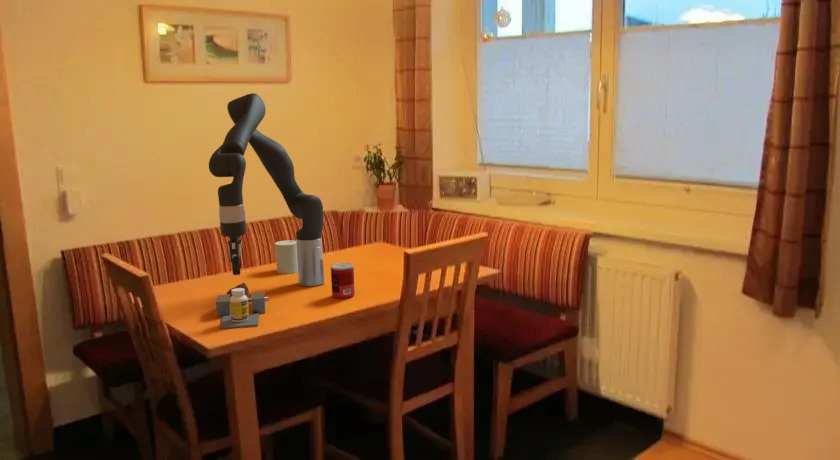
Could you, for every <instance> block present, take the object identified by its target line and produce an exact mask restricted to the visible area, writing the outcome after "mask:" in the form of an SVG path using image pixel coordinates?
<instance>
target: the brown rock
mask: <svg viewBox="0 0 840 460" xmlns="http://www.w3.org/2000/svg"><path fill="white" fill-rule="evenodd" d="M235 288H244V289H245V294H244V295H246V296H247V297H248V296H249V288H248V286H247V285H246V283H245V282H242V283H240V284H238V285H236V286H235V287H232V288H230V289H229V290H228V291H227V292H226V293H225V295H227V294H230V297H232V296H233V295H232V292H231V290H232V289H235Z"/></svg>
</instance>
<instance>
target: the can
mask: <svg viewBox="0 0 840 460" xmlns="http://www.w3.org/2000/svg"><path fill="white" fill-rule="evenodd" d="M274 247H275V259H276V260H275V261H276V273H278V274H283V275H284V274H286V275H287V274H289V275H290V274H296V273H298V260H297V244H296V240H294V239H292V240H291V239H290V240H289V239H288V240H279V241H276V242H275V243H274Z"/></svg>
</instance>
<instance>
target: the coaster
mask: <svg viewBox="0 0 840 460" xmlns="http://www.w3.org/2000/svg"><path fill="white" fill-rule="evenodd" d="M259 317H260V314H259V313H256V314H252V313H249V319H248V320H247V321H244V322H233V321H231V315H230V316H223V317H222V320H221V324H220V330H226V329H239V328H240V327H241V328H249V327H250V326H252V327H258V326H259V319H260V318H259ZM250 328H251V327H250Z"/></svg>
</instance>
